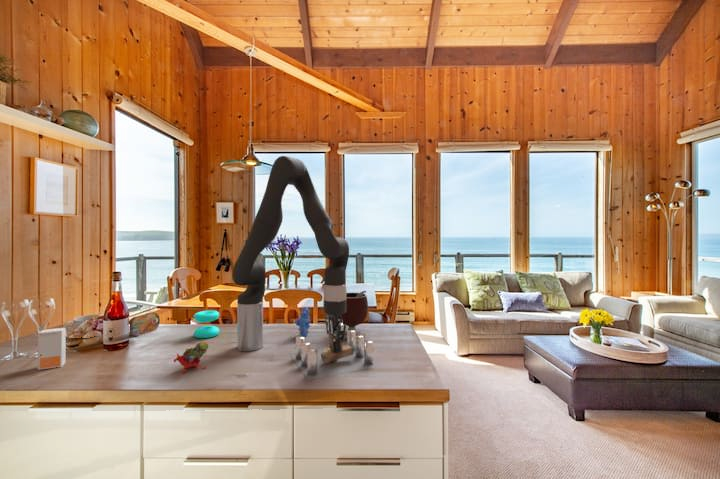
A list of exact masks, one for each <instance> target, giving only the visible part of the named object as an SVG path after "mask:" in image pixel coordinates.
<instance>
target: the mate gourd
mask: <svg viewBox="0 0 720 479" xmlns="http://www.w3.org/2000/svg"><path fill="white" fill-rule="evenodd" d="M366 293H367V290H363V291H361V292H346V313H344V314H342V320H343V325H344V324H345V325H346V327H348V328H346V330H345V335H344V339H346V340H347V331H348V330H355V331H356V335H363V336H364V337H366V336H367V332H366V331H365V330H363V329H357V328H356V327H357V326H359V325H361V324H363V323H364V322H365V320H366V319H367V316H368V312H369V311H368V310H369V302H368V298H367V297H368V296H367V294H366Z"/></svg>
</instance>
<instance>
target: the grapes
mask: <svg viewBox="0 0 720 479" xmlns="http://www.w3.org/2000/svg"><path fill="white" fill-rule="evenodd" d="M310 313H311V311H310V310H309V309H308V307H307V306H305V307H303V308H302V310H301V312H300V314H299V317H298V318H296V319H295V321H294V323H295V325H296V326H297V327H299V328H298V331H299V336H303V337H306V336H307V335H308V334H309V333H310V331H309V328H310V327H311V326H310V324H311V317H310Z"/></svg>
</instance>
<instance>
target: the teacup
mask: <svg viewBox="0 0 720 479" xmlns="http://www.w3.org/2000/svg"><path fill="white" fill-rule="evenodd" d="M97 315H98V314H87V315H80V316H76V317H74V318H73V319H72V320H69V321H65V322H64V324H63V326H62V328H66V333H67V332H68V333H71V332H70V331H73V330H75V329H77V328H78V326H79V325H80V324H82V323H83V322H85V321H86V320H89V319H91V318H93V317H95V316H97ZM69 324H71V325H72V327H73V328H72V329H69V328H67V326H68V325H69Z"/></svg>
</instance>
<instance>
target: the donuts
mask: <svg viewBox="0 0 720 479" xmlns="http://www.w3.org/2000/svg"><path fill="white" fill-rule="evenodd" d="M219 317H220V312H219V311H217V310H202V311H197V312H196V313H194V315H193V319H194V321H196V322H198V323H211V322H214V321H217V320H218V319H219ZM219 333H220V328H219V327H217V326H216V325H203V326H200V327H198V328H197V327H196V329H195V330H194V332H193V336H194V337H195V338H197V339H209V338H214V337H216V336H218V335H219Z"/></svg>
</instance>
